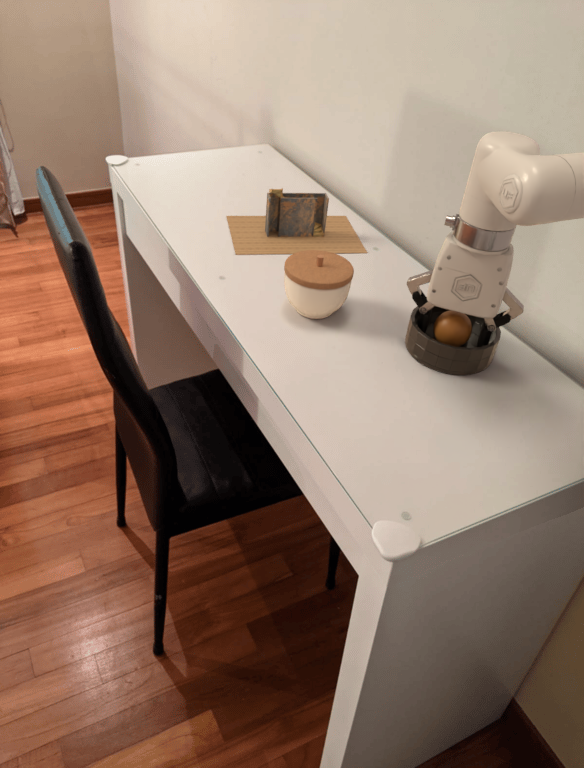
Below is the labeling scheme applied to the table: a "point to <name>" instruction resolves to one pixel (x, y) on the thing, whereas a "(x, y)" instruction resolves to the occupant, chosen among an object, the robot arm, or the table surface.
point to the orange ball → (452, 328)
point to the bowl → (447, 356)
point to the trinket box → (317, 282)
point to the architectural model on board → (293, 227)
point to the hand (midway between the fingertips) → (450, 339)
